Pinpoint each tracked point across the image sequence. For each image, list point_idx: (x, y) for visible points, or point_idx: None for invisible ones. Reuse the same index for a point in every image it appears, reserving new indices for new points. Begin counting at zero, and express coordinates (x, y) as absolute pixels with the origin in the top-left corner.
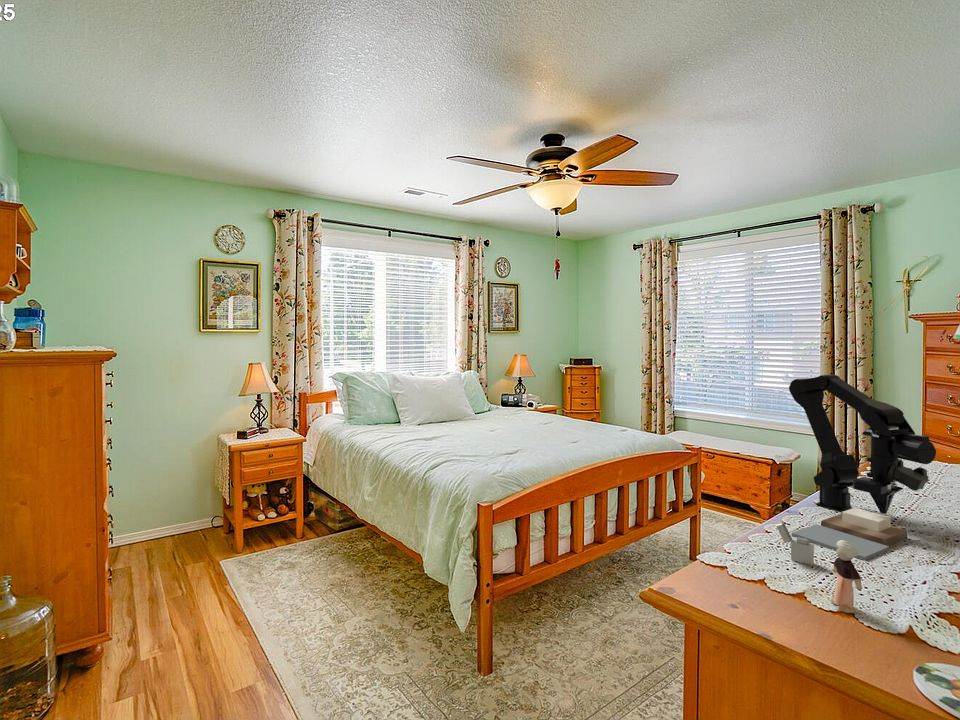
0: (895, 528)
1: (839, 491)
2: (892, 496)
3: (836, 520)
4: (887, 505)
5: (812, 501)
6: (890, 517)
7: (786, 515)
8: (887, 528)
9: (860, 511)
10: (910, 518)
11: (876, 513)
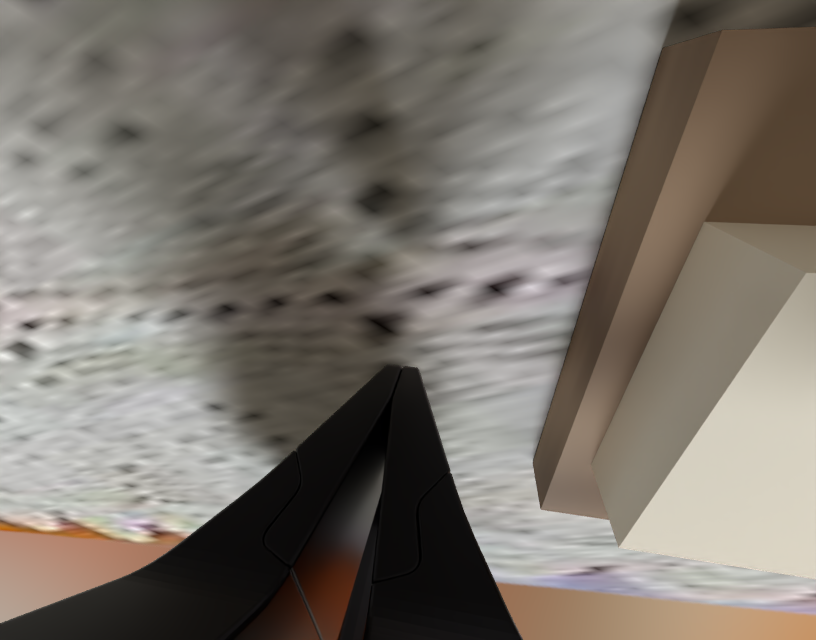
0: (742, 163)
1: (341, 629)
2: (250, 527)
3: None
4: (401, 428)
5: None
6: (809, 272)
7: (673, 596)
8: (812, 220)
9: (738, 514)
10: (114, 258)
11: (706, 420)
